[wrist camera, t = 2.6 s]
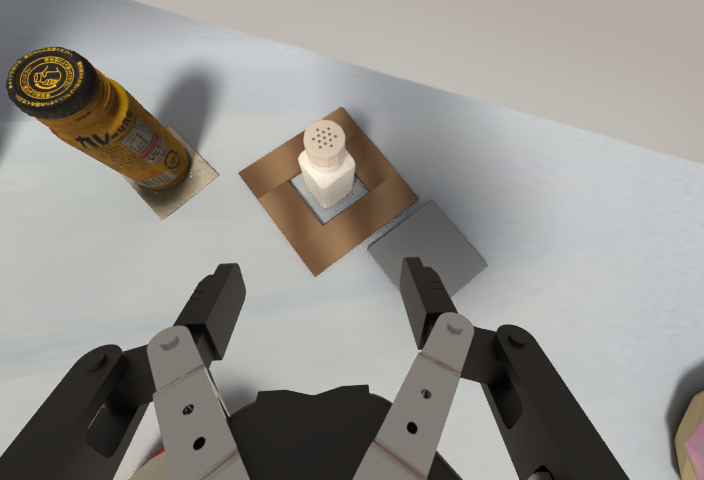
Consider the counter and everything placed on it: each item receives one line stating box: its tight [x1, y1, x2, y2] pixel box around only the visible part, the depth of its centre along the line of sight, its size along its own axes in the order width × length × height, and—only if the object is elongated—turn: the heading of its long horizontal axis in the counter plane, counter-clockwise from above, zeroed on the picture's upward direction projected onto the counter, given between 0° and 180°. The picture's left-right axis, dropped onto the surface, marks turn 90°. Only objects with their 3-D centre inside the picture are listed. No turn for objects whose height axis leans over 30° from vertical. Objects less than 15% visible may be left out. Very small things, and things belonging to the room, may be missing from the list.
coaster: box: [367, 200, 488, 297], centre depth 28 cm, size 9×9×1 cm
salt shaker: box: [298, 120, 355, 208], centre depth 25 cm, size 4×4×10 cm
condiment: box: [6, 47, 218, 219], centre depth 23 cm, size 7×8×12 cm
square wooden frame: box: [238, 107, 419, 277], centre depth 29 cm, size 14×14×1 cm
